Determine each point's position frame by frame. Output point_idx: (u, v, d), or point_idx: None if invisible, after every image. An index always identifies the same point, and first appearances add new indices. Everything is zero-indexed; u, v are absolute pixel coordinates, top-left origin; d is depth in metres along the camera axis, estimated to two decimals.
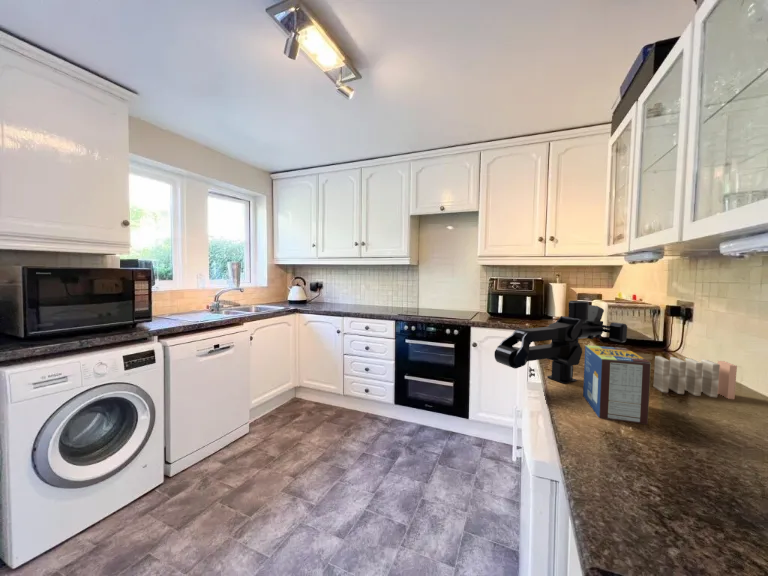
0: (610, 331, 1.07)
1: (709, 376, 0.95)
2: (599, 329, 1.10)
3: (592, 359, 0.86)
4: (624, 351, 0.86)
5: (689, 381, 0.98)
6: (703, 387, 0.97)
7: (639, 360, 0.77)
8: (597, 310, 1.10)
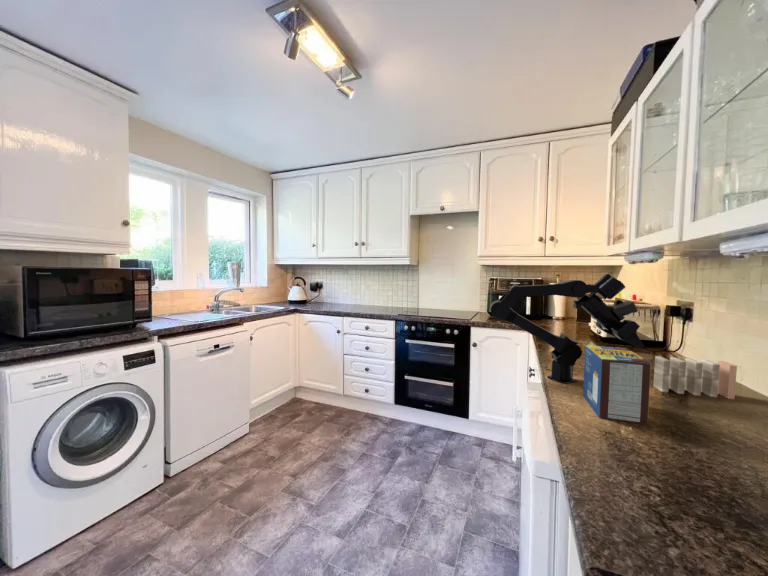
0: (619, 324, 0.97)
1: (709, 376, 0.95)
2: (613, 319, 1.00)
3: (592, 359, 0.86)
4: (624, 351, 0.86)
5: (689, 381, 0.98)
6: (703, 387, 0.97)
7: (639, 360, 0.77)
8: (628, 304, 0.99)
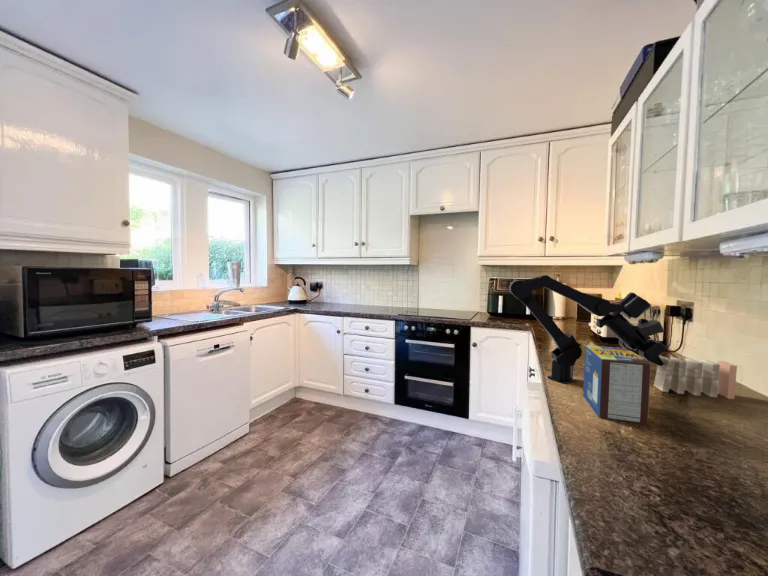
0: (645, 344, 0.95)
1: (709, 376, 0.95)
2: (638, 339, 0.98)
3: (592, 359, 0.86)
4: (624, 351, 0.86)
5: (689, 381, 0.98)
6: (703, 387, 0.97)
7: (639, 360, 0.77)
8: (654, 324, 0.97)
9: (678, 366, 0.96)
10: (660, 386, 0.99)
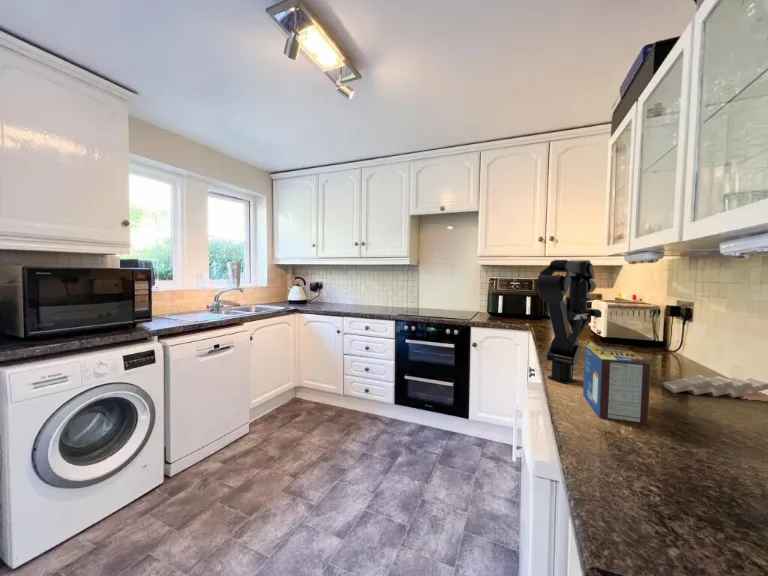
0: None
1: None
2: None
3: (592, 359, 0.86)
4: (624, 351, 0.86)
5: None
6: None
7: (639, 360, 0.77)
8: None
9: (723, 382, 0.94)
10: (673, 385, 0.98)
